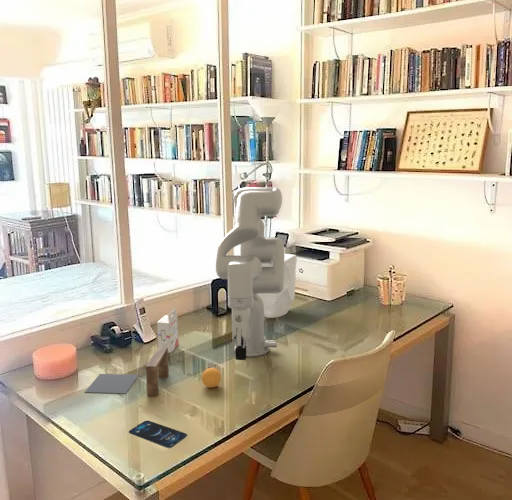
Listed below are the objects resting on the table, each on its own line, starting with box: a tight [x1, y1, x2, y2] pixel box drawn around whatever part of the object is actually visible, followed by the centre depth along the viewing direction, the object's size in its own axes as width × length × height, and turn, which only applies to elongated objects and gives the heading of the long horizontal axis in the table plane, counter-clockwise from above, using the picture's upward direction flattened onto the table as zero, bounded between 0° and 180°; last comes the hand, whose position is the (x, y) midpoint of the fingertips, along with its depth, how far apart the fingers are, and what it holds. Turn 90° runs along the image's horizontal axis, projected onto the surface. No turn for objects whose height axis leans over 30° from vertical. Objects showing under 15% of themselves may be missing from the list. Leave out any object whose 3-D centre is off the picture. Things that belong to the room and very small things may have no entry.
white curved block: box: [257, 253, 297, 319], centre depth 242 cm, size 21×27×26 cm
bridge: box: [145, 346, 170, 397], centre depth 170 cm, size 3×15×10 cm, turn 176°
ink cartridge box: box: [156, 307, 179, 354], centre depth 199 cm, size 9×5×15 cm, turn 168°
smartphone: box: [128, 420, 188, 449], centre depth 144 cm, size 8×1×15 cm
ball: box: [201, 367, 222, 389], centre depth 169 cm, size 6×6×6 cm
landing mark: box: [84, 373, 139, 395], centre depth 172 cm, size 13×13×1 cm
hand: (240, 358), depth 166 cm, fingers closed
